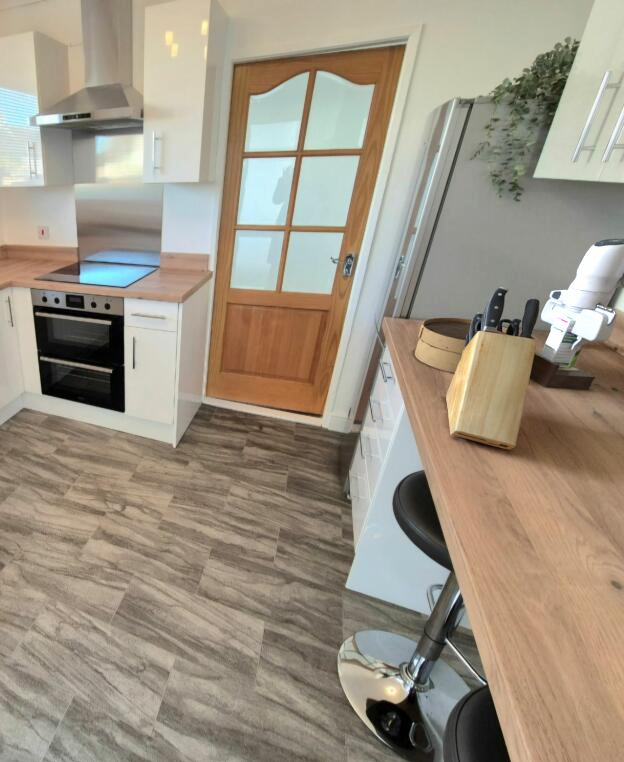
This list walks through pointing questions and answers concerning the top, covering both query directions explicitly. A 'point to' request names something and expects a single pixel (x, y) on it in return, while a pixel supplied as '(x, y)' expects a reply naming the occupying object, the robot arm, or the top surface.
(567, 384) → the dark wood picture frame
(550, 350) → the syrup box
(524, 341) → the knife block
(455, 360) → the steamer basket
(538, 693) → the top surface
